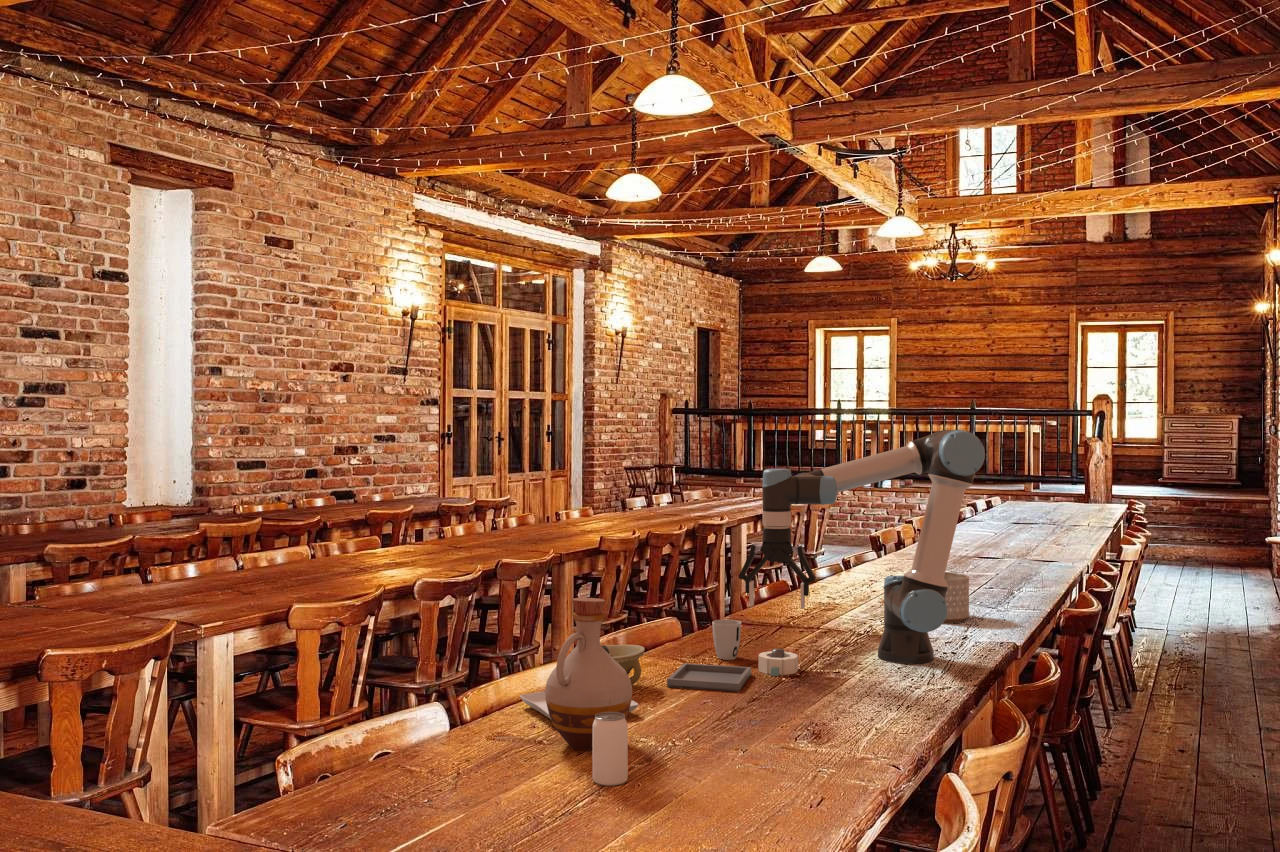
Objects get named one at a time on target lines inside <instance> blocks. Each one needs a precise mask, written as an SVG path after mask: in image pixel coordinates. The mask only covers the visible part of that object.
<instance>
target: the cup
mask: <svg viewBox="0 0 1280 852" xmlns="http://www.w3.org/2000/svg"><path fill="white" fill-rule="evenodd" d="M711 624H712V638H713V644H714V650H715V653H716V656H717V659H718V658H719V659H718V660H721V659H723V661H732V660H736V659H737V656H738V653H739V649H740V645H741V644H740V642H741V638H742V637H741V636H742V635H741V634H742V621H741V620H736V619H716V620H713V621H712V622H711Z"/></svg>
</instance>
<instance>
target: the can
mask: <svg viewBox="0 0 1280 852" xmlns="http://www.w3.org/2000/svg"><path fill="white" fill-rule="evenodd" d="M628 731H629V730H628V722H627V719H626V720H625V715H624V714H622V713H619V712H602V713H598V714H596V715H595V720H594V722H593V739H592V747H593V750H592V781H593V782H594V783H595V784H596V785H599V786H602V787H616V786H621V785H624V784H625V783H626V782H627V781H628V777H629V776H628V775H629V773H628V765H629V764H628V763H629V762H628V761H629V760H628V759H629V757H628V755H629V753H628V751H629V749H628V748H629V747H628V746H629V745H628V743H629V741H628V736H629V735H628Z"/></svg>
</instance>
